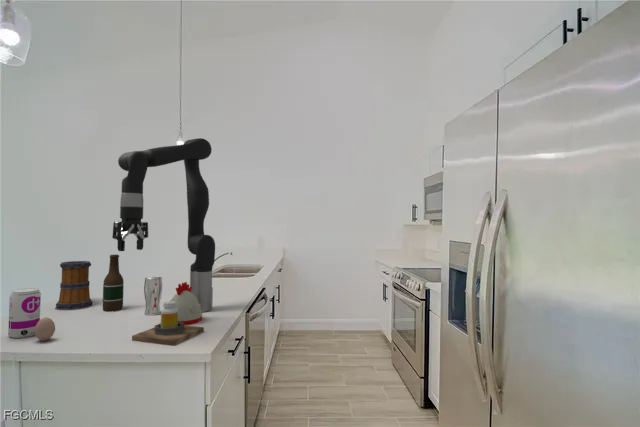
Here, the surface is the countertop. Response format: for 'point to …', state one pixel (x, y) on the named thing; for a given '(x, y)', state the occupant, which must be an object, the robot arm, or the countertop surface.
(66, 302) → the mug
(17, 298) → the supplement can
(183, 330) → the socket board
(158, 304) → the beer glass
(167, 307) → the supplement bottle
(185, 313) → the kitchen timer
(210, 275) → the robot arm
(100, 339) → the countertop surface
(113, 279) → the beer bottle
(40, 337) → the egg
